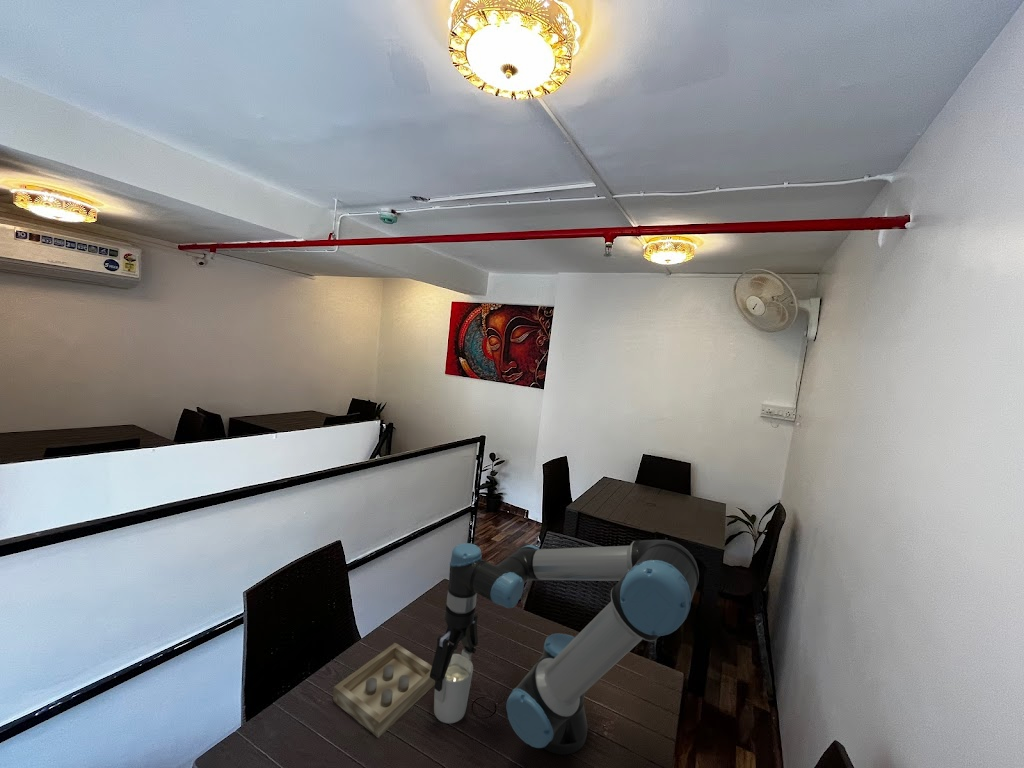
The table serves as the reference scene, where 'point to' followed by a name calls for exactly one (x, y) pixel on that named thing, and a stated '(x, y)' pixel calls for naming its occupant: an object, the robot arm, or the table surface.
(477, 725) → the table surface
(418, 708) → the table surface
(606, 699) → the table surface
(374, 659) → the peg frame
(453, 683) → the candle holder
